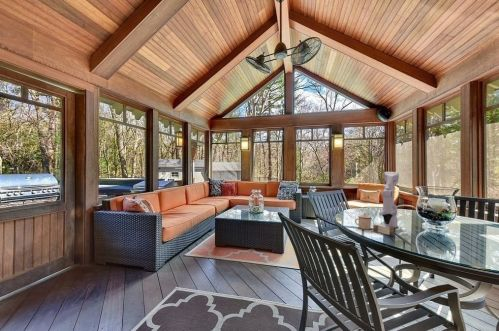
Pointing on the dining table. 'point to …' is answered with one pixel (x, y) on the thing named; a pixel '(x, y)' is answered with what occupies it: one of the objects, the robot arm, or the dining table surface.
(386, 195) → the robot arm
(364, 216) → the teacup with lid
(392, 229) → the hinge post
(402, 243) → the dining table surface
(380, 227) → the beige flat panel
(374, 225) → the post
